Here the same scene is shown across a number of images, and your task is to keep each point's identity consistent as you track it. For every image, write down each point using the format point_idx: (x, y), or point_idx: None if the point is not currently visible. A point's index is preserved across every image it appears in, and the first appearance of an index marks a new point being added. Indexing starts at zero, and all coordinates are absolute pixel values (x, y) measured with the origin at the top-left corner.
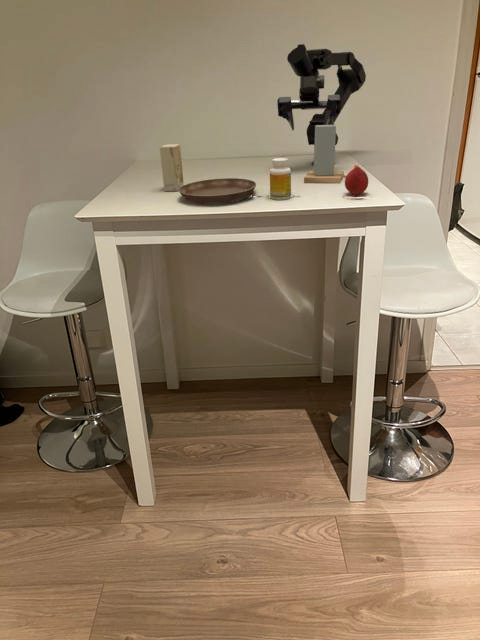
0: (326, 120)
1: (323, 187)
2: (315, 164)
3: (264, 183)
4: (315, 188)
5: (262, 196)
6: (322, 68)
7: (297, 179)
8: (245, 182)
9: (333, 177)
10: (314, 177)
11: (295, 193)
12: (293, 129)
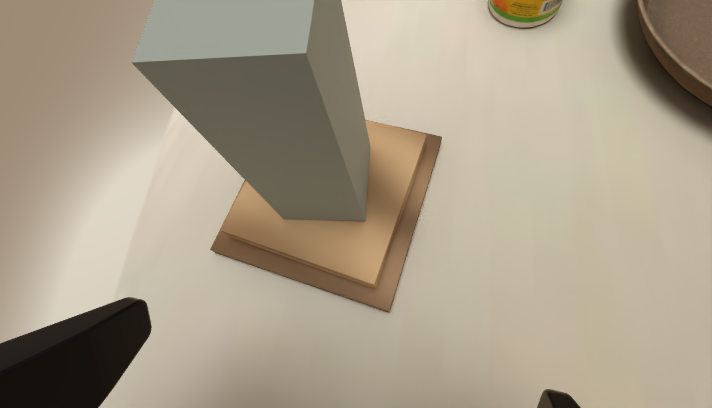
0: (29, 338)
1: None
2: (363, 149)
3: (613, 235)
4: (388, 100)
5: (589, 26)
6: None
7: (440, 285)
8: (707, 91)
9: None
10: (381, 128)
11: (469, 47)
12: (541, 405)
